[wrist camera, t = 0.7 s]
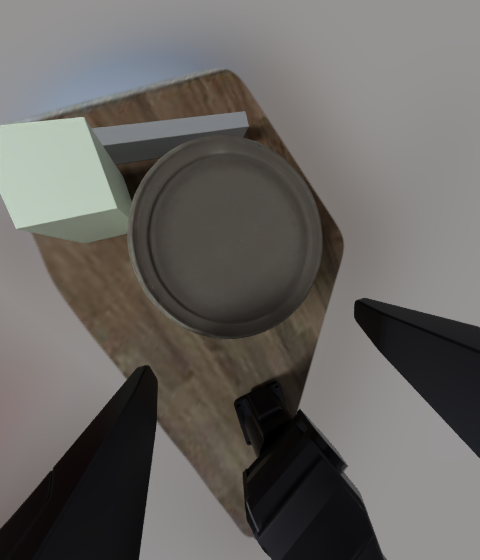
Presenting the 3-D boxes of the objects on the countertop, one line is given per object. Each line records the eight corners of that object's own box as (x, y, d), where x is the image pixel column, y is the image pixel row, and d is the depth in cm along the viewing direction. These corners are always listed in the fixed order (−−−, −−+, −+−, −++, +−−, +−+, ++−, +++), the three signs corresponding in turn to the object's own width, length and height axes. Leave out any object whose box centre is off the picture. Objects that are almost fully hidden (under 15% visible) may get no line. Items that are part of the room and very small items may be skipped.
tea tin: (141, 230, 22) (117, 208, 13) (84, 243, 21) (16, 228, 12) (122, 175, 21) (83, 114, 12) (61, 185, 20) (-30, 125, 11)
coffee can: (194, 189, 23) (214, 84, 10) (263, 245, 26) (353, 224, 12) (138, 264, 22) (72, 264, 9) (216, 313, 25) (259, 373, 11)
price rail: (239, 145, 24) (248, 126, 21) (41, 176, 19) (12, 157, 16) (235, 129, 24) (244, 108, 20) (33, 156, 19) (2, 133, 16)
